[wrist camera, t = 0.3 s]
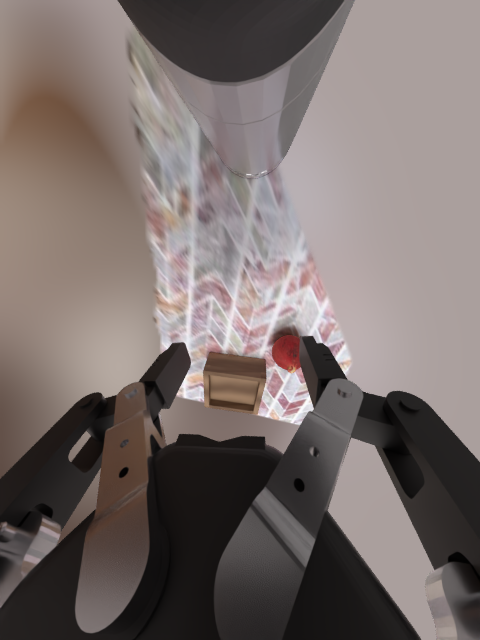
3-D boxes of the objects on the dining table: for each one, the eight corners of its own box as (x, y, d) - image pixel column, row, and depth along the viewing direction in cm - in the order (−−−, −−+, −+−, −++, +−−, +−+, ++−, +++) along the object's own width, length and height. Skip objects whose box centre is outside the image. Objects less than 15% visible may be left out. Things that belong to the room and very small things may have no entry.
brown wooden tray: (210, 351, 37) (203, 370, 32) (265, 358, 36) (266, 379, 32) (210, 386, 43) (204, 407, 38) (257, 392, 43) (257, 414, 38)
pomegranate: (277, 322, 31) (283, 352, 24) (307, 331, 31) (320, 363, 25) (266, 345, 34) (268, 378, 27) (293, 353, 34) (301, 387, 28)
